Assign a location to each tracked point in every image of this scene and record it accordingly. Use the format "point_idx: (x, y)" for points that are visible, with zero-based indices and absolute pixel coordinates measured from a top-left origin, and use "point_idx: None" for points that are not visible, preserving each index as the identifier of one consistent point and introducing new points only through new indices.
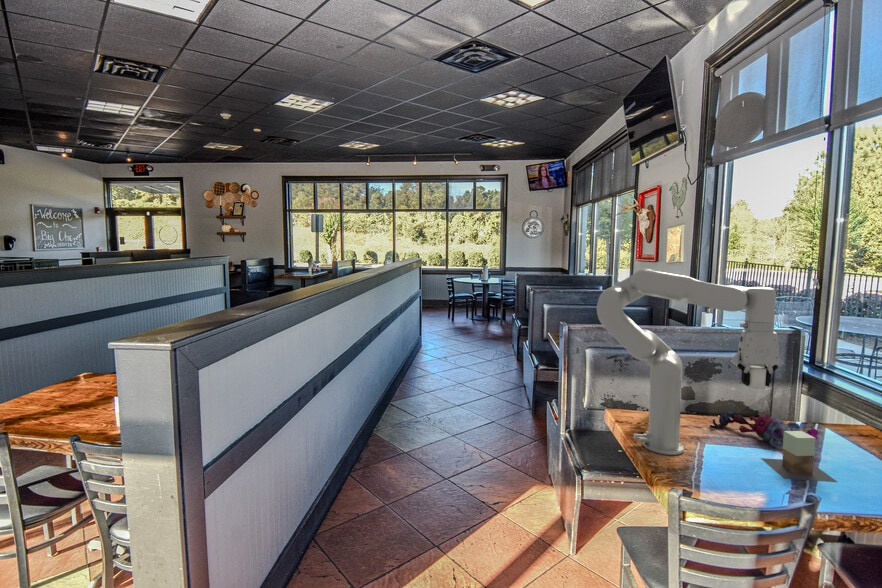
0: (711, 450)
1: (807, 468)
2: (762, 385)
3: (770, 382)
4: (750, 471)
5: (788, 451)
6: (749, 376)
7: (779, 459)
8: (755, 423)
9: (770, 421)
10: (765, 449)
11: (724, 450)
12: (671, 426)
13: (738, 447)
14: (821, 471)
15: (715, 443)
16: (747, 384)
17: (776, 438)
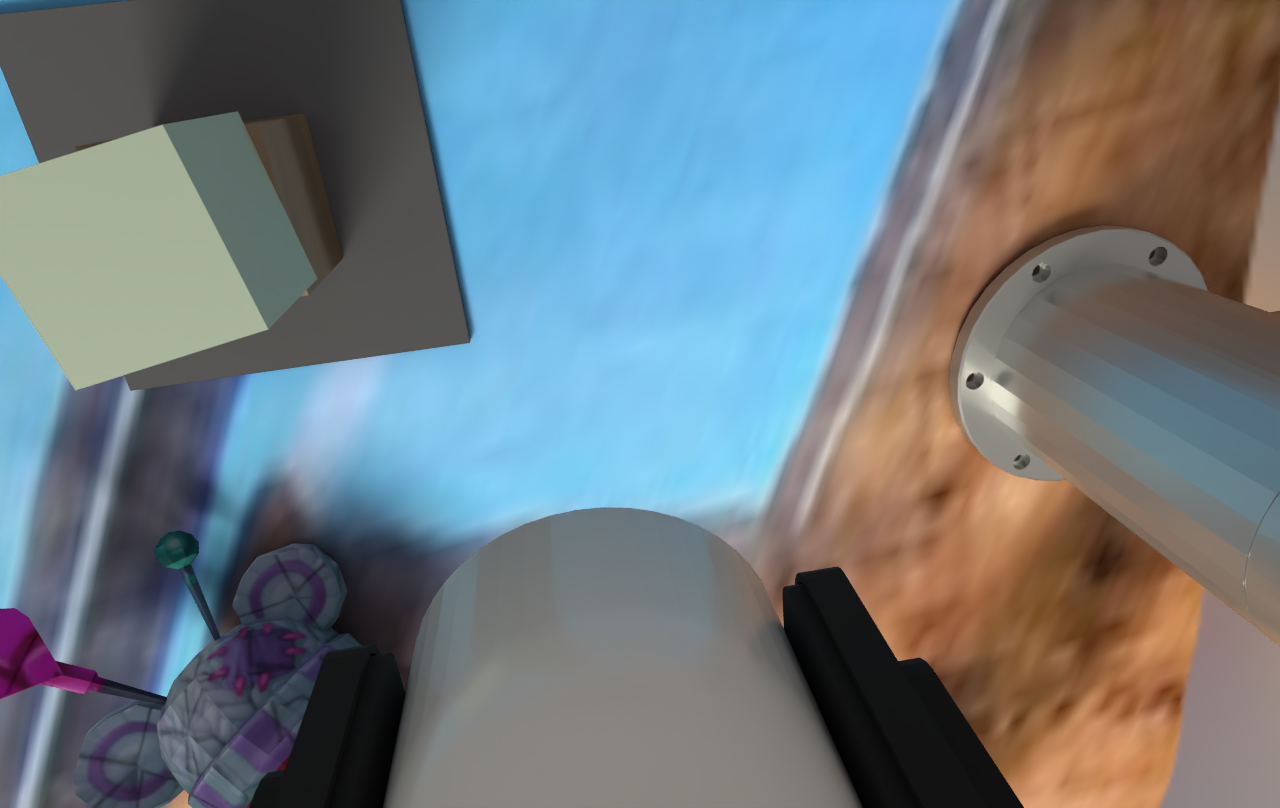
0: (761, 404)
1: None
2: (510, 579)
3: (266, 776)
4: (606, 82)
5: (283, 210)
6: (887, 756)
7: (339, 357)
8: None
9: None
10: (388, 530)
11: (673, 430)
12: (1224, 325)
13: (562, 510)
14: None
15: None
16: (840, 577)
17: (290, 626)
